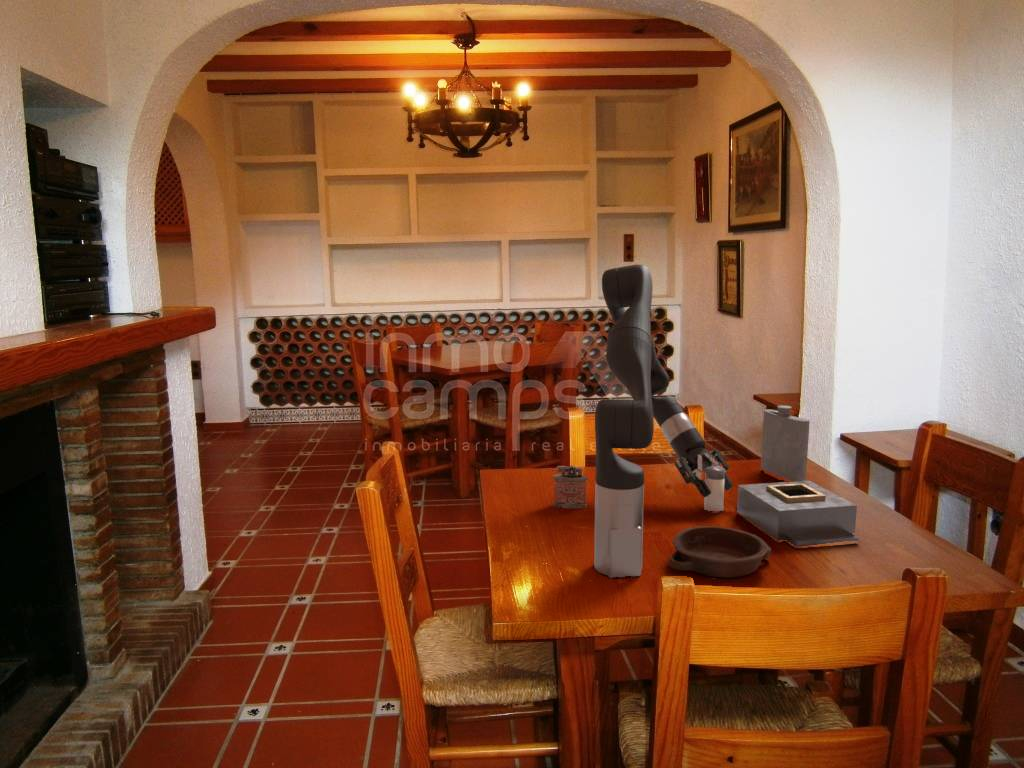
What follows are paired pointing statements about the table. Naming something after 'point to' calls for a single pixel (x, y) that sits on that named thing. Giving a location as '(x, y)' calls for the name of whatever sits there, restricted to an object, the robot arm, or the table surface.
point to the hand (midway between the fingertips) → (719, 492)
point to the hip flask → (785, 444)
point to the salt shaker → (714, 488)
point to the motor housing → (798, 512)
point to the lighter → (570, 488)
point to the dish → (718, 551)
